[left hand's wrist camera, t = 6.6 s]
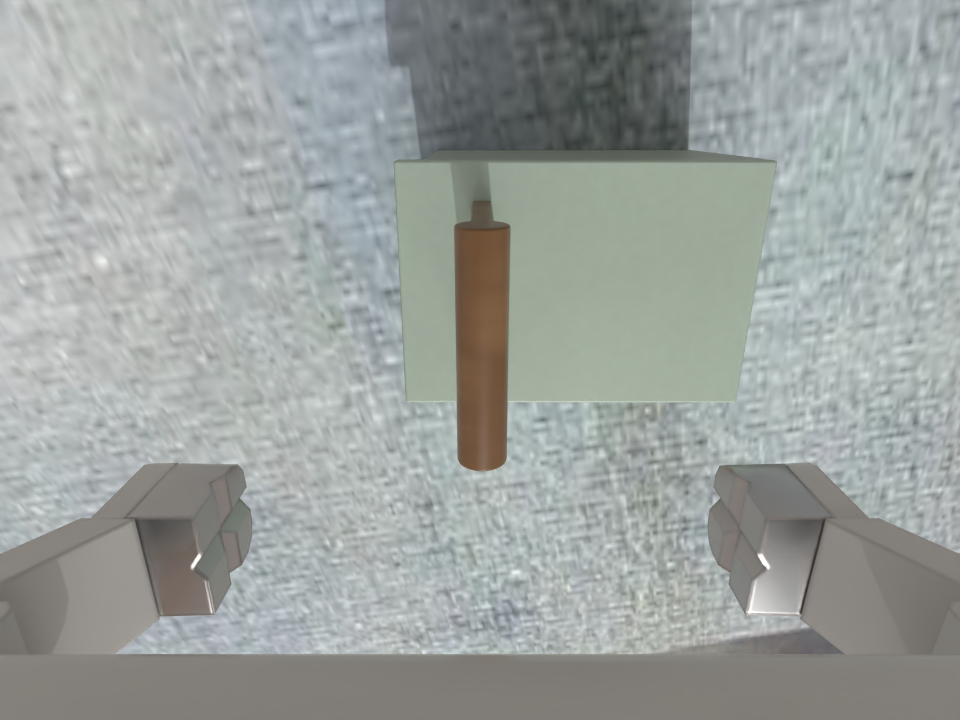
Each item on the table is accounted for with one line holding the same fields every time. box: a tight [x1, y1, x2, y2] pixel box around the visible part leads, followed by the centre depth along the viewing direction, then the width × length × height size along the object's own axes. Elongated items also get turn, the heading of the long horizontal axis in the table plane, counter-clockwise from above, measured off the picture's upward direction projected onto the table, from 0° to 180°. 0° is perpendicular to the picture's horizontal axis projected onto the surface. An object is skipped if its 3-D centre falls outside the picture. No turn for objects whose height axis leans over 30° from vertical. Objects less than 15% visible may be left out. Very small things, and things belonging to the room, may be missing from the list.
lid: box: [394, 159, 777, 471], centre depth 20 cm, size 14×10×8 cm
